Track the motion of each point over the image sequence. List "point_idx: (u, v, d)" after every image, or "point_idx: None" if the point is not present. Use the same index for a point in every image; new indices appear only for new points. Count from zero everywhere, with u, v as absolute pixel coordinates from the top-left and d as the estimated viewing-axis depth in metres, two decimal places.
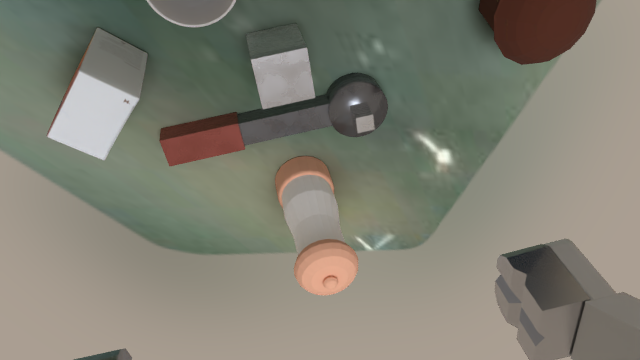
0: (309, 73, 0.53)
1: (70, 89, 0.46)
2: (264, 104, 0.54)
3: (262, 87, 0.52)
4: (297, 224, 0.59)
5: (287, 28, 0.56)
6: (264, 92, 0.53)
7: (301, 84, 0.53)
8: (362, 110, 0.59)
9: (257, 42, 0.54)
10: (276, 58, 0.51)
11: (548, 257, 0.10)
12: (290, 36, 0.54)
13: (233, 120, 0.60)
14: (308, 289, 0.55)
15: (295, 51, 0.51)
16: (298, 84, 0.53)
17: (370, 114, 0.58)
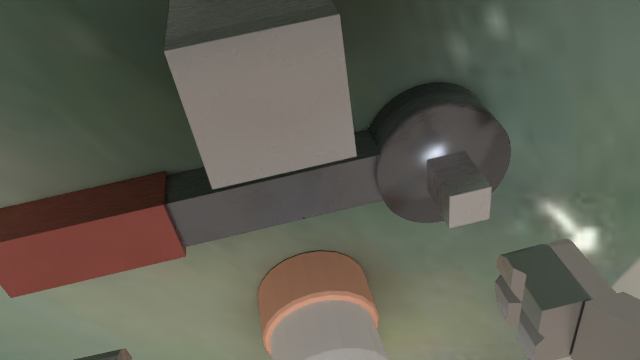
0: (344, 91, 0.18)
1: None
2: (216, 177, 0.19)
3: (207, 132, 0.18)
4: None
5: None
6: (214, 146, 0.18)
7: (319, 122, 0.19)
8: (461, 174, 0.25)
9: (196, 3, 0.19)
10: (245, 47, 0.16)
11: (548, 257, 0.10)
12: None
13: (154, 195, 0.25)
14: None
15: (304, 26, 0.16)
16: (311, 122, 0.19)
17: (484, 186, 0.24)
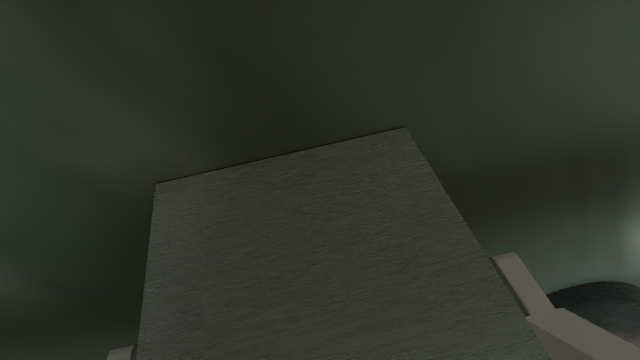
0: None
1: None
2: None
3: None
4: None
5: (366, 162, 0.11)
6: None
7: None
8: None
9: (203, 277, 0.09)
10: None
11: None
12: (404, 240, 0.09)
13: None
14: None
15: None
16: None
17: None
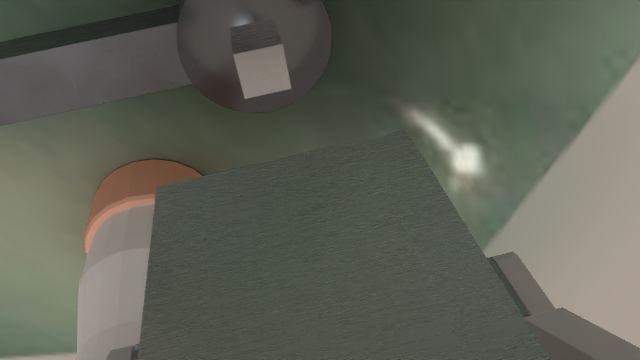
0: None
1: None
2: None
3: None
4: (81, 347, 0.22)
5: (366, 165, 0.11)
6: None
7: None
8: (257, 36, 0.22)
9: (204, 280, 0.09)
10: None
11: None
12: (405, 244, 0.09)
13: None
14: None
15: None
16: None
17: (275, 44, 0.21)
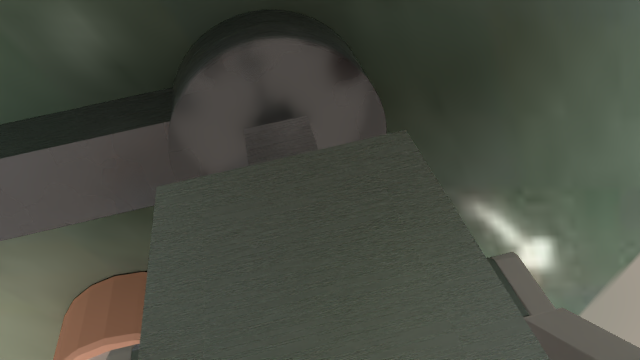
0: None
1: None
2: None
3: None
4: None
5: (366, 165, 0.11)
6: None
7: None
8: (285, 150, 0.15)
9: (204, 280, 0.09)
10: None
11: None
12: (404, 244, 0.09)
13: None
14: None
15: None
16: None
17: None
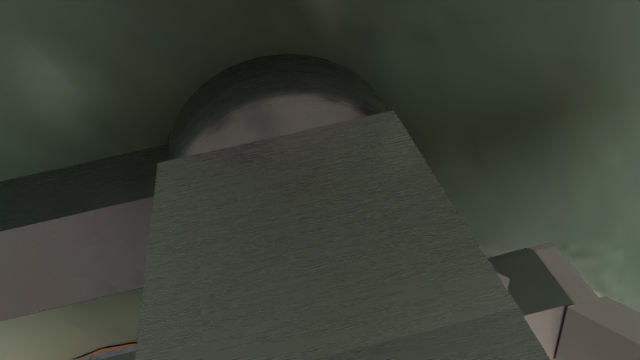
0: None
1: None
2: None
3: None
4: None
5: (355, 142, 0.11)
6: None
7: None
8: None
9: (202, 244, 0.09)
10: None
11: (532, 261, 0.10)
12: (389, 210, 0.09)
13: None
14: None
15: None
16: None
17: None
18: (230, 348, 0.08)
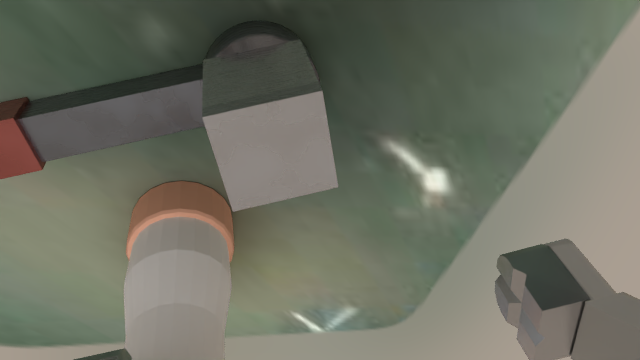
0: (327, 142, 0.25)
1: None
2: (235, 202, 0.27)
3: (230, 171, 0.25)
4: (130, 323, 0.29)
5: (282, 49, 0.29)
6: (234, 180, 0.26)
7: (310, 163, 0.26)
8: None
9: (222, 78, 0.27)
10: (257, 113, 0.24)
11: (548, 257, 0.10)
12: (288, 65, 0.27)
13: (9, 112, 0.30)
14: None
15: (298, 98, 0.24)
16: (304, 163, 0.26)
17: None
18: (231, 96, 0.25)
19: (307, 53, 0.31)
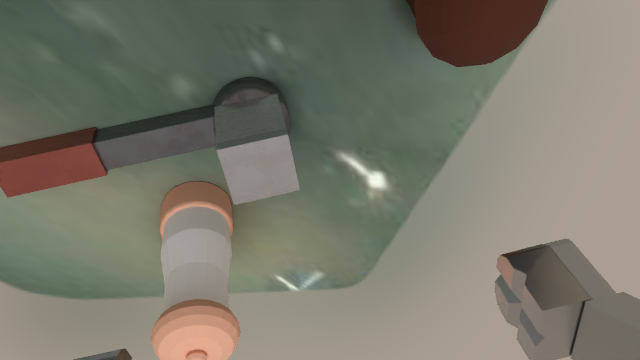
0: (291, 163, 0.42)
1: None
2: (236, 199, 0.43)
3: (232, 180, 0.42)
4: (168, 274, 0.45)
5: (265, 101, 0.45)
6: (235, 186, 0.42)
7: (281, 175, 0.42)
8: None
9: (227, 122, 0.43)
10: (249, 147, 0.40)
11: (548, 257, 0.10)
12: (268, 114, 0.43)
13: (87, 138, 0.46)
14: None
15: (273, 139, 0.40)
16: (278, 176, 0.42)
17: None
18: (233, 135, 0.41)
19: (282, 99, 0.47)
